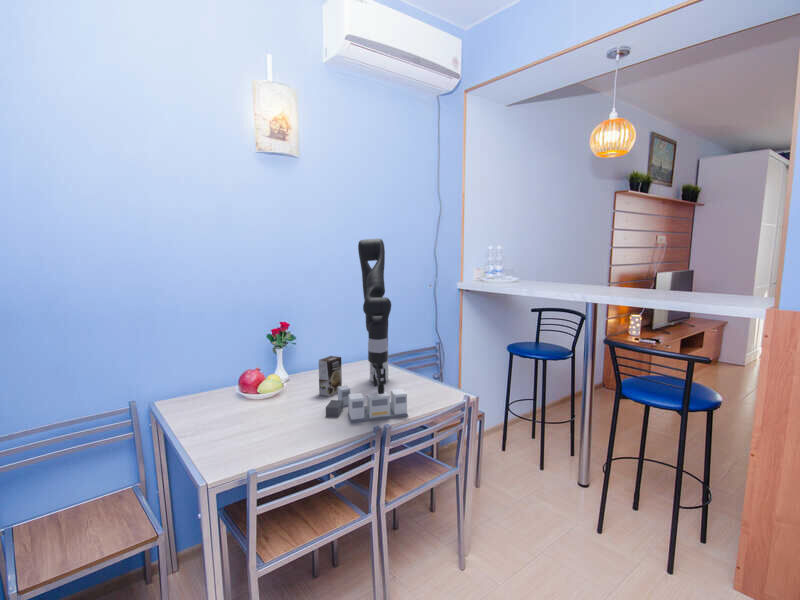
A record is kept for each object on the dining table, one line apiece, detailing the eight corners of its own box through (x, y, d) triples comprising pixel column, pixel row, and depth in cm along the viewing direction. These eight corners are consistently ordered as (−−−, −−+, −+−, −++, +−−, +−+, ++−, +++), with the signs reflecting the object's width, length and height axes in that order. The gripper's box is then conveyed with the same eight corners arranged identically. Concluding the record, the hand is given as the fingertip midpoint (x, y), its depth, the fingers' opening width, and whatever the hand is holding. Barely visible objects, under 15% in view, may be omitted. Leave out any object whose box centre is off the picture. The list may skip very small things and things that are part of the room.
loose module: (367, 413, 163) (366, 393, 162) (386, 410, 165) (386, 391, 164) (369, 418, 158) (369, 398, 157) (390, 415, 160) (389, 396, 159)
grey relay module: (337, 402, 177) (337, 386, 176) (346, 400, 179) (346, 385, 178) (341, 406, 173) (341, 390, 172) (350, 404, 174) (350, 388, 173)
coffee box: (330, 397, 184) (329, 361, 182) (318, 394, 187) (317, 359, 185) (342, 390, 192) (341, 356, 190) (331, 388, 195) (330, 355, 193)
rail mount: (348, 413, 165) (347, 392, 164) (401, 407, 171) (401, 387, 170) (351, 422, 156) (351, 400, 155) (407, 416, 162) (407, 394, 161)
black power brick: (331, 409, 170) (331, 400, 170) (343, 409, 170) (343, 400, 169) (325, 417, 162) (325, 407, 162) (338, 417, 162) (338, 407, 161)
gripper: (364, 345, 165) (365, 384, 167) (372, 354, 151) (372, 397, 153) (383, 344, 166) (383, 383, 169) (392, 353, 153) (392, 395, 155)
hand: (378, 389), depth 161 cm, fingers open, 8 cm apart
